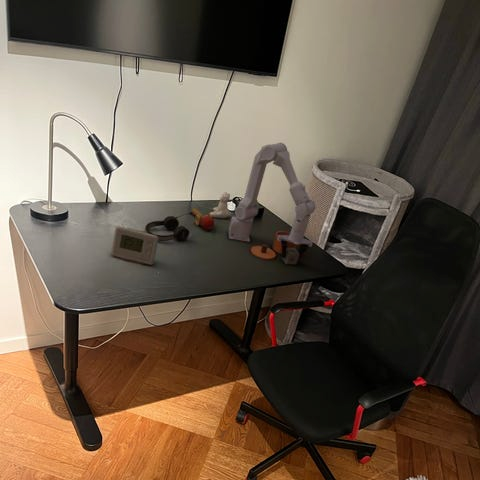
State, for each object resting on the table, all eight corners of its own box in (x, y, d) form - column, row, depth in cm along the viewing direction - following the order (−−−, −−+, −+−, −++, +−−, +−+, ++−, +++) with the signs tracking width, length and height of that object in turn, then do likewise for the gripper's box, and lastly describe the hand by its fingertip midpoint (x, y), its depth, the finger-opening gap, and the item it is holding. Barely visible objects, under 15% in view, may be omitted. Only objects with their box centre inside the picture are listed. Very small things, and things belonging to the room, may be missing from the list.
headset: (199, 217, 193) (154, 225, 184) (197, 238, 199) (153, 247, 190) (183, 203, 202) (139, 210, 192) (182, 224, 208) (140, 231, 198)
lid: (251, 258, 197) (253, 248, 195) (249, 246, 206) (251, 237, 204) (276, 262, 199) (279, 253, 197) (273, 250, 208) (275, 241, 206)
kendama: (184, 217, 219) (200, 229, 206) (188, 204, 217) (204, 215, 204) (199, 220, 224) (215, 232, 210) (203, 207, 221) (219, 219, 208)
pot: (273, 253, 205) (277, 239, 201) (270, 243, 213) (274, 229, 209) (295, 257, 207) (300, 243, 203) (292, 247, 215) (296, 233, 211)
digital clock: (108, 255, 174) (110, 229, 168) (120, 246, 181) (122, 221, 175) (148, 270, 171) (151, 243, 165) (159, 260, 179) (162, 235, 173)
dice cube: (296, 264, 201) (299, 253, 198) (286, 264, 199) (289, 253, 196) (291, 258, 204) (294, 248, 201) (281, 258, 202) (284, 247, 199)
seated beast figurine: (213, 210, 231) (218, 186, 224) (230, 215, 230) (235, 191, 223) (208, 216, 223) (213, 192, 216) (226, 221, 222) (231, 197, 216)
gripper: (283, 230, 189) (274, 259, 196) (317, 236, 191) (307, 265, 199) (280, 222, 194) (272, 251, 202) (314, 229, 197) (304, 257, 204)
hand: (289, 258), depth 201 cm, fingers closed on dice cube, 6 cm apart
